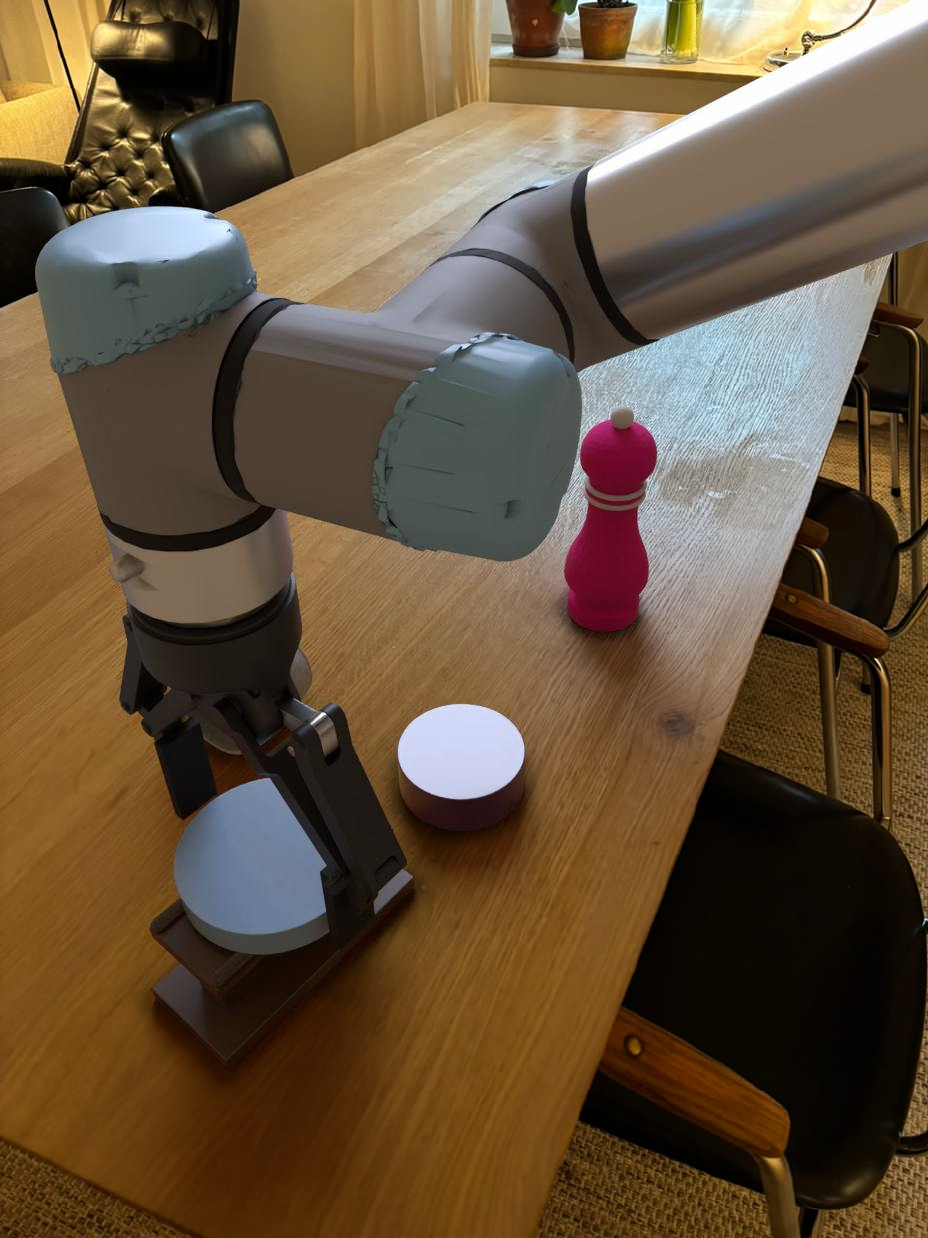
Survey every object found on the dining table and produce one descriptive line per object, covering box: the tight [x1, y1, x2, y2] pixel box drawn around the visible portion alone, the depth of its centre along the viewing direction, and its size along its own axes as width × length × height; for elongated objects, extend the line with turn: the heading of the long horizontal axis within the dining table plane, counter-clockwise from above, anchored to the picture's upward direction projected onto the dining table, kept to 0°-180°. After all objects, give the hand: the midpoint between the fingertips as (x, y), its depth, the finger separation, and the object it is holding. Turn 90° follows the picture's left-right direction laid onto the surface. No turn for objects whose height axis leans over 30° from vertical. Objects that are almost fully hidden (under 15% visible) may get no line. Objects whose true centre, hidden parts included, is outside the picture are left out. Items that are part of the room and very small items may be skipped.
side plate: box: [172, 777, 329, 955], centre depth 58 cm, size 11×11×2 cm
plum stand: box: [396, 703, 526, 832], centre depth 72 cm, size 9×9×4 cm
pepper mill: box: [563, 405, 658, 633], centre depth 82 cm, size 7×7×20 cm
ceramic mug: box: [184, 644, 313, 756], centre depth 76 cm, size 11×8×8 cm
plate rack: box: [148, 824, 415, 1071], centre depth 61 cm, size 7×16×8 cm, turn 140°
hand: (270, 863), depth 58 cm, fingers open, 13 cm apart
